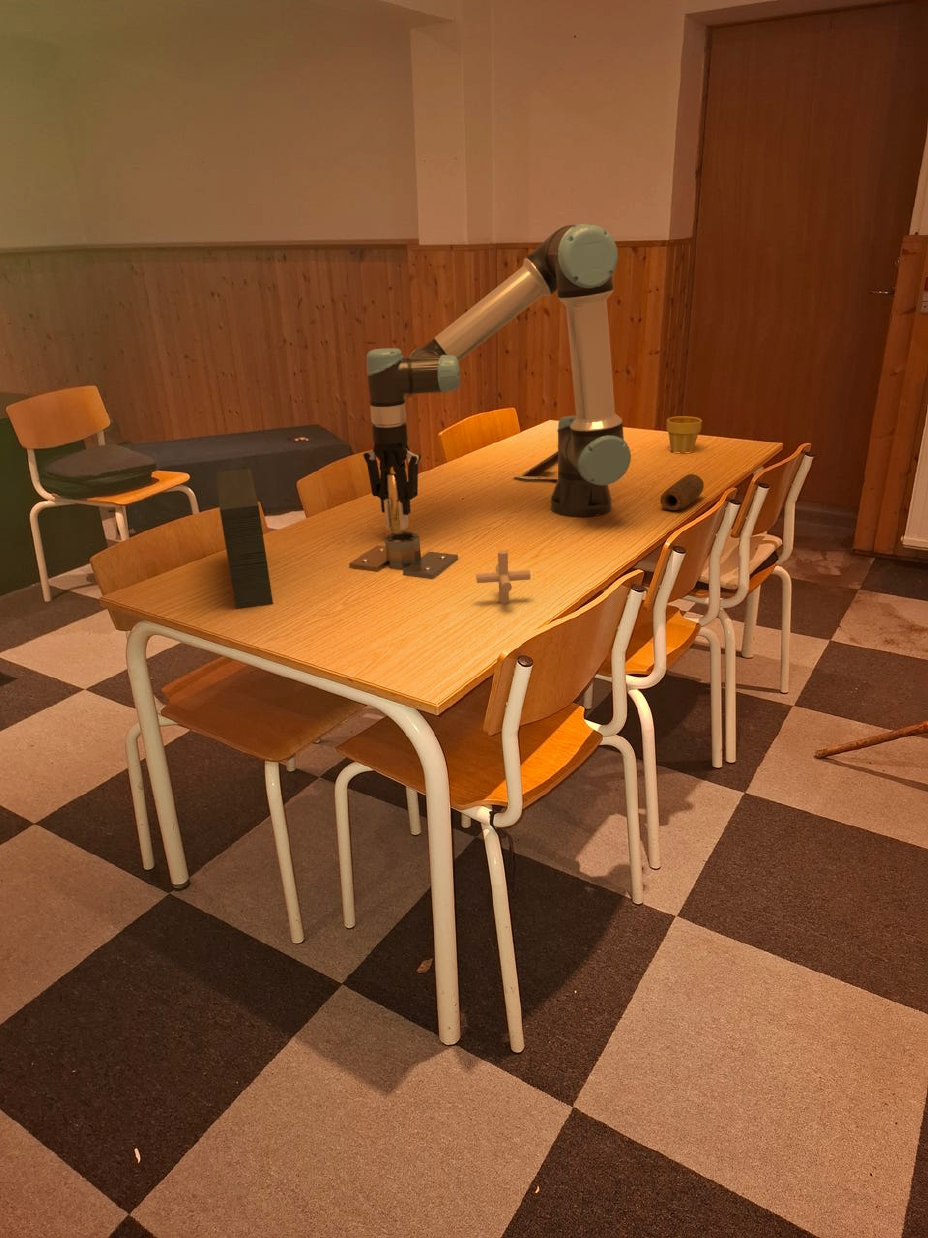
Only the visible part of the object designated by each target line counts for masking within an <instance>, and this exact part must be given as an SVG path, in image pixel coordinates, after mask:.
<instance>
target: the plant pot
mask: <svg viewBox="0 0 928 1238" xmlns="http://www.w3.org/2000/svg"><path fill="white" fill-rule="evenodd" d="M702 423H703V420H702V419H701V418H699V417H695V416H687V415H684V416H681V415H680V416H679V415H677V416H672V417H668V418H667V419H666V425H665V426H666V432H668V439H669V447H670V452H671V451H674V452H680V453H685V452H691V451H693V452H694V448H695V446H696V441H697V439H698V436H699V433H700V432H701V430H702V425H703V424H702ZM691 453H692V452H691Z"/></svg>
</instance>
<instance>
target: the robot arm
mask: <svg viewBox="0 0 928 1238" xmlns="http://www.w3.org/2000/svg"><path fill="white" fill-rule="evenodd" d="M618 258H619V253H618V247H617V244H616V241H615V240H614V237H612V235H611V234H610V233H609V232H608V231H607V230H606V229H604V228H603V227H600V226H598V225H596V224H592V223H589V222H588V223H581V224H570V225H565V226H561V227H560V228H558V229H557V230H555V231H554V232H553V233H552V234H551V235H549V236H548V238H546V239H545V240H544V241H543V242H542V243H541V244H540V245H539V246H538V247H536V249H535V250H533V251H532V252H531V253H530V254H528V255H527V256H526V257H525V258H524V259H523V263H522V267H520V268H519V269H518V270H517V271H515V272H514V273H513V274H511V275H510V276H509V277H508V278H507V279H505V280H504V281H503V282H502V283H500V284H499V285H498V286H496V287H495V288H494V289H493V290H492V291H491V292H489V293H488V294H486V296H484V297H483V298H482V299H480V300H479V301H478V302H477V303H476V304H474V305H473V306H472V307H470V308H469V309H468V310H467V311H465V312H464V313H463V314H462V315H461V316H459V317H458V318H456V320H455V321H453V322H452V323H451V324H449V326H447V327H446V328H444V329H443V330H442V331H441V332H439V333H438V334H437V335H436V336H435V337H433V339H431V340H429V341H428V342H427V343H426V344H424V345H423V346H421V347H418V348H416V349H415V350H413V351H412V352H411V354H410V355H409V357H404V356H403V353H402V351H401V349H400V348H394V347H393V348H392V347H391V348H387V347H385V348H375V349H372V350H370V351H368V352H367V354H366V373H367V374H366V376H367V384H368V385H367V386H368V395H369V406H370V407H369V408H370V409H369V410H370V419H371V423H372V424H373V425H372V427H371V429H372V430H371V431H372V441H373V442H374V445H373V447H372V450H369V451H367V452H365V453H363V458H364V461H365V463H366V466H367V471H368V477H369V483H370V489H371V495H372V496H373V497H377V498H379V499H380V507H381V512H382V513H384V520H385V528H386V529H391V524H390V512H389V499H388V487H387V475H386V474H387V473H389V472H392V471H391V470H392V469H393V472H395V474H396V478H397V483H398V488H399V493H400V497H401V500H399V502H398V509H399V522H400V530H404V531H405V529H407V528H408V527H409V524H410V523H409V515H410V514H411V500H413V499H414V498H416V497H417V496H418V493H419V492H418V491H419V490H418V489H419V485H418V484H419V481H418V480H419V463H420V461H421V455H420V454H419V453H417V454H415V453H413V452H412V451H411V450H410V448H409V446H408V426H407V424H406V423H405V422H407V414H406V400H405V399H406V398H405V395H406V396H407V395H419V394H435V393H442V394H446V393H448V392H455V391H458V389H459V388H460V385H461V384H460V383H461V381H460V380H461V373H460V372H461V371H460V370H461V369H460V361H462V360H463V359H464V358H466V356H468V355H470V354H471V352H473V351H475V349H477V348H478V347H479V346H480V345H482V344H483V343H484V342H485V341H487V340H488V339H489V338H491V337H492V336H493V335H494V334H496V333H497V332H498V331H500V330H501V329H502V328H503V327H504V326H506V325H507V324H508V323H510V322H511V321H512V320H514V319H515V318H516V317H517V316H519V314H522V313H523V312H524V311H525V310H526V309H527V308H529V307H530V306H531V305H532V304H534V303H535V302H536V301H538V300H539V299H540V298H541V297H543V296H544V297H545V296H546V297H550V296H551V295H553V294H554V293H555V292H557V298H558V300H559V301H560V302H561V303H562V304H563V305H565V309H566V319H567V330H568V341H569V351H570V352H569V354H570V364H571V373H572V383H573V386H572V387H573V396H574V397H573V398H574V407H575V415H574V414H573V415H567V416H566V415H565V416H562V417H560V419H559V420H558V425H557V431H556V432H557V451H558V454H557V480H556V483H555V486H554V489H553V492H552V495H551V498H550V510H551V511H552V512H554V513H556V514H559V515H562V516H567V517H579V518H580V517H595V516H599V515H603V514H606V513H609V512H610V511H611V510H612V504H613V503H612V501H613V500H612V495H611V493H610V488H609V485H611V484H614V483H615V482H617V481H619V480H621V478H622V477H623V476H625V474H626V473H627V472H628V470H629V468H630V465H631V460H632V454H631V450H630V447H629V445H628V443H627V441H625V439H624V438H625V437H624V436H625V435H624V425H623V418H622V417H621V416H619V415H618V414H616V409H615V396H614V384H613V383H614V381H613V368H612V367H613V366H612V354H611V341H610V340H611V339H610V325H609V313H608V299H609V297H610V296H612V294H613V292H614V281H613V280H614V279H613V274H614V272H615V271H616V268H617V264H618ZM377 459H378V460H379V464H378V460H377ZM406 459H407V460H406ZM405 461H407V463H408V464H407V465H408V466H407V465H406V462H405ZM406 467H407V472H406Z"/></svg>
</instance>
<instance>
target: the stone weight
mask: <svg viewBox="0 0 928 1238" xmlns="http://www.w3.org/2000/svg"><path fill="white" fill-rule="evenodd" d="M704 486H705V485H704V481H703V479H702V478H701V477H700V476H699V475H698V474H694V473H689V474H686V475H685V476H683V477H682V478H680V479H679V480H677V481H676V482H674V483H673V484H672V485H671V486H669V487H668V488H667V489H666V490H665V491H664V492H663V493H662V494H661V495H660V504H661V505H662V507H663V508H664V509H665V510H669V511H679V510H682V509H685V508H686V507H687V506H688V505H690V504H692V503H693V502H694V501H696V500H697V498H699V496H700V495H702V493H703V492H704Z"/></svg>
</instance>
